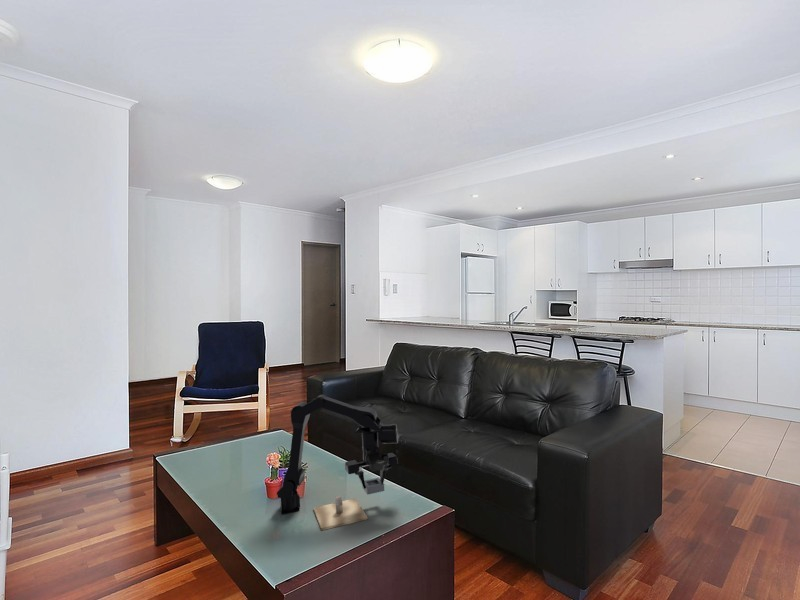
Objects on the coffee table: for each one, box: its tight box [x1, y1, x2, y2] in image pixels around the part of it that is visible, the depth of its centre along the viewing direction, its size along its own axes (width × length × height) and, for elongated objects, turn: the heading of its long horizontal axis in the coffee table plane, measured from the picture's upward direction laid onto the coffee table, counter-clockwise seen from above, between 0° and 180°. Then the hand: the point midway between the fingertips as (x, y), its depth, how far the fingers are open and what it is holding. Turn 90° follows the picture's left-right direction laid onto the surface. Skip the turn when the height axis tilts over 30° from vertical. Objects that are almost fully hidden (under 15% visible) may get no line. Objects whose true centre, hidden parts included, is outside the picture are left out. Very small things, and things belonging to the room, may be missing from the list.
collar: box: [362, 477, 385, 495], centre depth 163 cm, size 6×6×2 cm
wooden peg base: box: [312, 495, 368, 531], centre depth 160 cm, size 16×16×6 cm
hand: (373, 486), depth 163 cm, fingers closed on collar, 6 cm apart
